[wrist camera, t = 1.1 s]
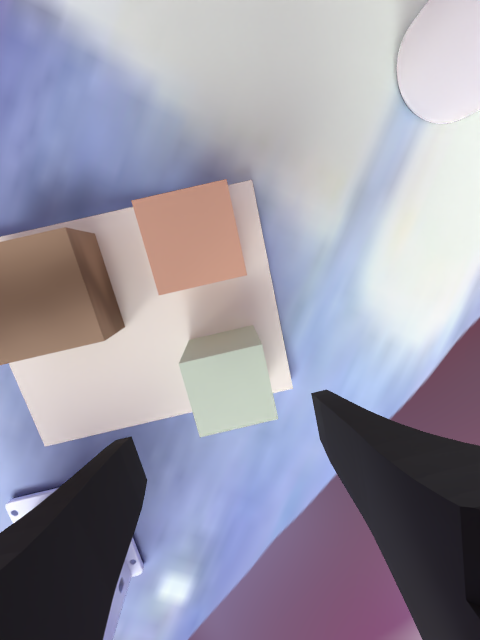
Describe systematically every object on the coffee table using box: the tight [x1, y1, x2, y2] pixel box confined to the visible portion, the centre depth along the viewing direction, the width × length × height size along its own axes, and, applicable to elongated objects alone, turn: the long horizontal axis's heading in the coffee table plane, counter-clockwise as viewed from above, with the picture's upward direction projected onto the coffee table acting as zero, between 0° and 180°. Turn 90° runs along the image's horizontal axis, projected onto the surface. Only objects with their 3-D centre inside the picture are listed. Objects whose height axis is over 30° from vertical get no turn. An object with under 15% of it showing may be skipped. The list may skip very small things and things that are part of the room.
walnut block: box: [0, 227, 125, 365], centre depth 16 cm, size 6×6×3 cm
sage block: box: [179, 325, 278, 437], centre depth 17 cm, size 4×4×4 cm
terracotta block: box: [132, 179, 247, 295], centre depth 15 cm, size 4×4×4 cm
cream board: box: [0, 180, 293, 446], centre depth 18 cm, size 14×18×1 cm
